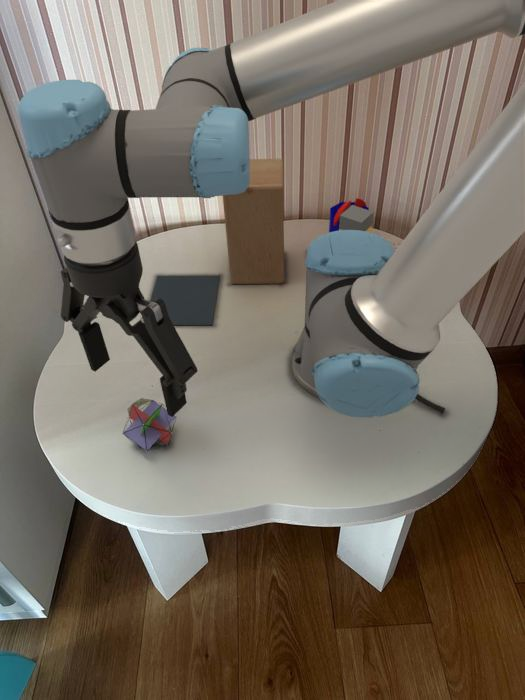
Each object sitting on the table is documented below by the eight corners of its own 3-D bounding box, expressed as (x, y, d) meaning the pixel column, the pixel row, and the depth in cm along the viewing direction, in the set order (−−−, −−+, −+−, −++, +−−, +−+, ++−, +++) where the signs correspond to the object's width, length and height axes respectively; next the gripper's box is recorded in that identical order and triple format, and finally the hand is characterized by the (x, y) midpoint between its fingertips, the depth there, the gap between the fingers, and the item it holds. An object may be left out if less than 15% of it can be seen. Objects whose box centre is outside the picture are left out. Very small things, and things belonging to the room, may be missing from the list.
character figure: (368, 286, 103) (379, 198, 91) (375, 324, 96) (388, 234, 83) (326, 287, 104) (331, 199, 91) (329, 325, 96) (335, 235, 84)
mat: (212, 325, 97) (212, 324, 97) (143, 325, 98) (143, 324, 98) (219, 276, 107) (219, 275, 107) (157, 276, 108) (157, 275, 108)
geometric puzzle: (196, 426, 79) (161, 384, 76) (166, 463, 75) (129, 419, 72) (168, 430, 84) (134, 390, 82) (139, 464, 80) (103, 423, 77)
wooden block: (284, 284, 105) (283, 185, 91) (230, 285, 105) (221, 187, 91) (284, 253, 112) (283, 157, 98) (233, 254, 112) (225, 158, 98)
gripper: (-7, 227, 61) (50, 364, 76) (166, 311, 50) (192, 451, 65) (49, 197, 65) (92, 332, 80) (218, 268, 54) (232, 409, 69)
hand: (137, 386), depth 73 cm, fingers open, 13 cm apart
